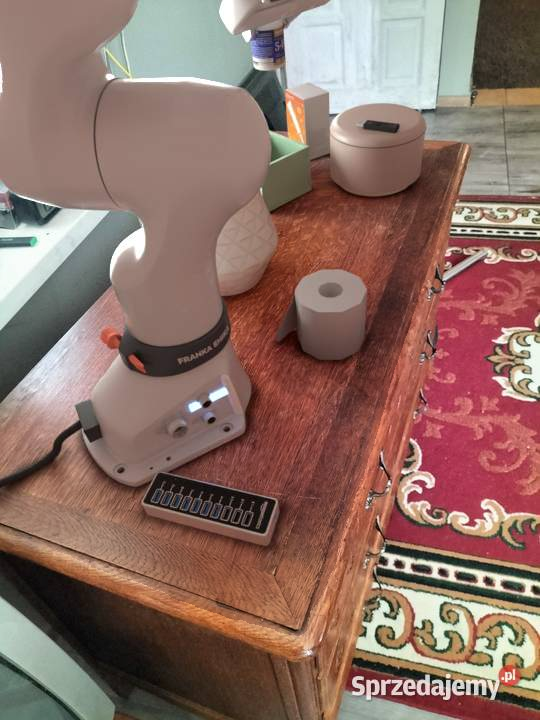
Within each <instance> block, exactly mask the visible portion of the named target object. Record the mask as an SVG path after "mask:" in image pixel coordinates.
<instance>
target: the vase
mask: <svg viewBox="0 0 540 720" xmlns="http://www.w3.org/2000/svg"><path fill="white" fill-rule="evenodd" d="M278 244H279V233H278V229H277V227H276V225H275V223H274V220H273V218H272V215H271V213H270V212H269V210H268V208H267V206H266V203H265V201H264V198H263V196H262V194H261V191H260V190H259V192H258V193H257V194H256V196H255V197H254V198H253V199H252V200H251V201H250V202H249V203H248V204H247V205H246V206H245V207H243V208H241V209H240V210H239V211H237V212H236V213H235V214H234V215H233V216H232V217H231V218H230V219H229V220H228V222H227V223H226V224H225V226H224V227H223V229H222V231H221V233H220V235H219V238H218V241H217V245H216V267H217V275H218V282H219V289H220V294H221V296H222V297H231V296H236V295H241V294H243V293H246V292H247V291H249V290H251V289H252V288H254V287H256V286H257V285H258V284H259V282H260V281H261V280H262V277H263V275H264V274H265V271H266V270H267V267H268V265H269V264H270V262H271V260H272V257H273V256H274V254H275V252H276V250H277V248H278Z"/></svg>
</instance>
